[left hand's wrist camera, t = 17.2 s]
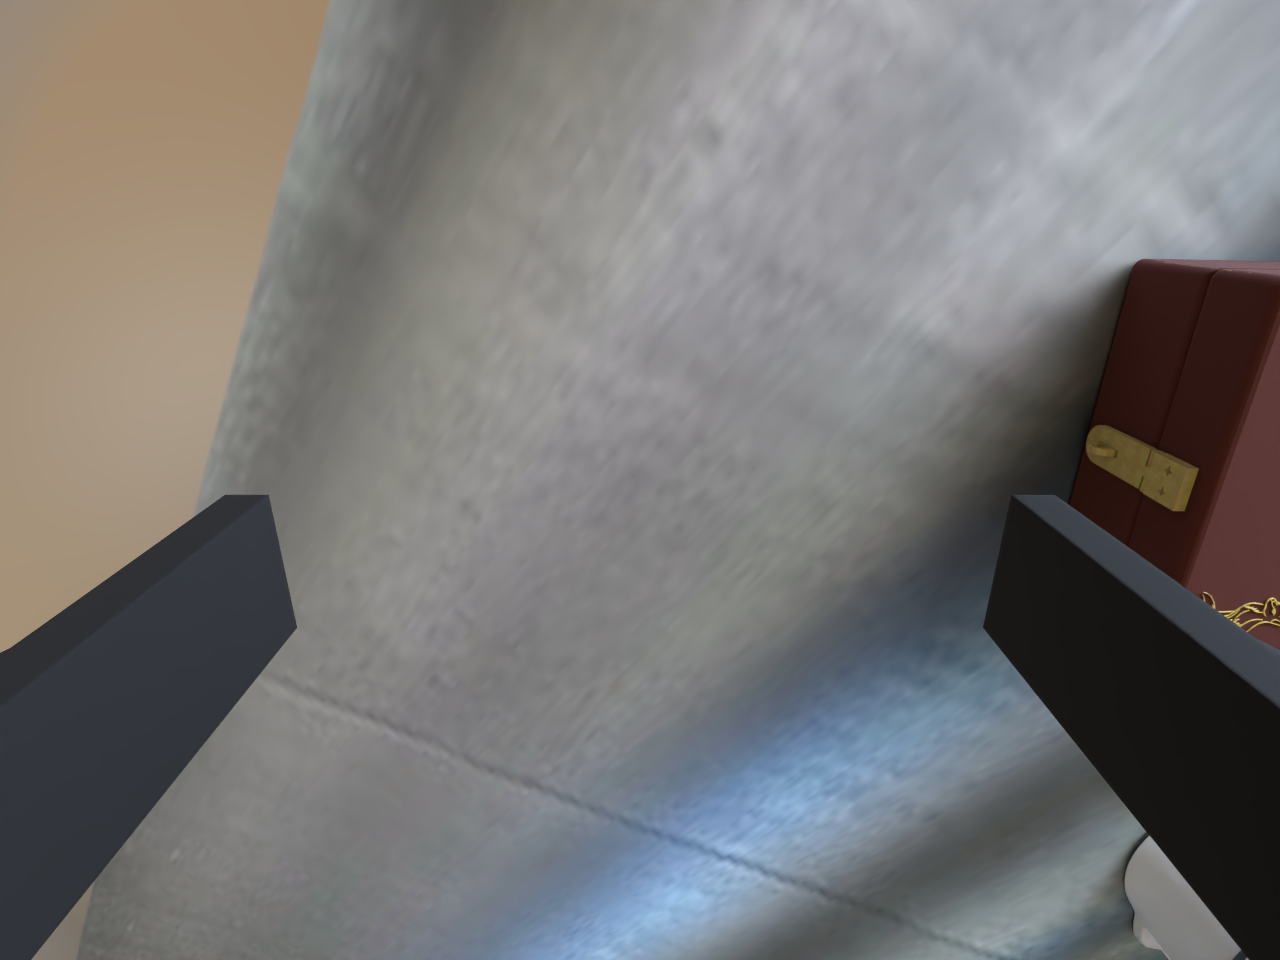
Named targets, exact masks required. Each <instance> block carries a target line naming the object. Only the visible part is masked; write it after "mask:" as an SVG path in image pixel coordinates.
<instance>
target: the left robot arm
mask: <svg viewBox="0 0 1280 960" xmlns="http://www.w3.org/2000/svg"><path fill="white" fill-rule="evenodd" d="M296 628H297V625H296V621H295V616H294V611H293V607H292V602H291V597H290V593H289V588H288V583H287V579H286V574H285V569H284V565H283V560H282V555H281V551H280V546H279V541H278V537H277V532H276V527H275V523H274V518H273V513H272V509H271V504H270V499H269V495H224V496H223V497H222V498H220V499H219V500H217V501H216V502H215V503H213V504H212V505H210V506H209V507H208V508H206V509H205V510H203V511H202V512H201V513H199V514H198V515H196V516H195V517H194V518H192V519H191V520H189V521H188V522H187V523H185V524H184V525H182V526H181V527H180V528H178V529H177V530H175V531H174V532H172V533H171V534H170V535H168V536H167V537H165V538H164V539H163V540H161V541H160V542H159V543H157V544H156V545H154V546H153V547H151V548H150V549H149V550H147V551H146V552H144V553H143V554H142V555H140V556H139V557H137V558H136V559H135V560H133V561H132V562H130V563H129V564H128V565H126V566H125V567H123V568H122V569H121V570H119V571H118V572H116V573H115V574H114V575H112V576H111V577H109V578H108V579H107V580H105V581H104V582H102V583H101V584H100V585H98V586H97V587H95V588H94V589H93V590H91V591H90V592H88V593H87V594H86V595H84V596H83V597H81V598H80V599H79V600H77V601H76V602H74V603H73V604H72V605H70V606H69V607H67V608H66V609H65V610H63V611H62V612H60V613H59V614H58V615H56V616H55V617H53V618H52V619H50V620H49V621H48V622H46V623H45V624H43V625H42V626H41V627H39V628H38V629H37V630H35V631H34V632H32V633H31V634H29V635H28V636H27V637H25V638H24V639H22V640H21V641H20V642H18V643H17V644H15V645H14V646H13V647H11V648H9V649H7V650H5V651H3V652H1V653H0V960H31V959H32V958H33V957H34V955H35V954H36V953H37V952H38V950H39V949H40V948H41V947H42V945H43V944H44V943H45V942H46V940H47V939H48V938H49V937H50V935H51V934H52V933H53V931H54V930H55V929H56V928H57V927H58V925H59V924H60V923H61V922H62V920H63V919H64V918H65V917H66V915H67V914H68V913H69V912H70V910H71V909H72V908H73V907H74V905H75V904H76V903H77V902H78V900H79V899H80V898H81V897H82V895H83V894H84V893H85V892H86V890H87V889H88V888H89V887H90V885H91V884H92V883H93V882H94V880H95V879H96V878H97V877H98V875H99V874H100V873H101V872H102V870H103V869H104V868H105V867H106V865H107V864H108V863H109V862H110V860H111V859H112V858H113V857H114V855H115V854H116V853H117V852H118V850H119V849H120V848H121V847H122V845H123V844H124V843H125V842H126V840H127V839H128V838H129V837H130V835H131V834H132V833H133V832H134V830H135V829H136V828H137V827H138V825H139V824H140V823H141V822H142V820H143V819H144V818H145V817H146V815H147V814H148V813H149V812H150V810H151V809H152V808H153V807H154V805H155V804H156V803H157V802H158V800H159V799H160V798H161V797H162V795H163V794H164V793H165V792H166V790H167V789H168V788H169V787H170V785H171V784H172V783H173V782H174V780H175V779H176V778H177V777H178V775H179V774H180V773H181V772H182V770H183V769H184V768H185V767H186V765H187V764H188V763H189V762H190V760H191V759H192V758H193V757H194V755H195V754H196V753H197V752H198V750H199V749H200V748H201V747H202V746H203V744H204V743H205V742H206V741H207V739H208V738H209V737H210V736H211V734H212V733H213V732H214V731H215V729H216V728H217V727H218V726H219V724H220V723H221V722H222V721H223V719H224V718H225V717H226V716H227V714H228V713H229V712H230V711H231V709H232V708H233V707H234V706H235V704H236V703H237V702H238V701H239V699H240V698H241V697H242V696H243V694H244V693H245V692H246V691H247V689H248V688H249V687H250V686H251V684H252V683H253V682H254V681H255V679H256V678H257V677H258V676H259V674H260V673H261V672H262V671H263V669H264V668H265V667H266V666H267V664H268V663H269V662H270V661H271V659H272V658H273V657H274V656H275V654H276V653H277V652H278V651H279V649H280V648H281V647H282V646H283V644H284V643H285V642H286V641H287V639H288V638H289V637H290V636H291V634H292V633H293V632H294V631H295V629H296ZM983 628H984V629H985V631H986V632H987V633H988V634H989V636H990V637H991V638H992V639H993V641H994V642H995V643H996V644H997V646H998V647H999V648H1000V649H1001V651H1002V652H1003V653H1004V654H1005V656H1006V657H1007V658H1008V659H1009V661H1010V662H1011V663H1012V664H1013V666H1014V667H1015V668H1016V669H1017V671H1018V672H1019V673H1020V674H1021V676H1022V677H1023V678H1024V679H1025V681H1026V682H1027V683H1028V684H1029V686H1030V687H1031V688H1032V689H1033V691H1034V692H1035V693H1036V694H1037V696H1038V697H1039V698H1040V699H1041V701H1042V702H1043V703H1044V704H1045V706H1046V707H1047V708H1048V709H1049V711H1050V712H1051V713H1052V714H1053V716H1054V717H1055V718H1056V719H1057V721H1058V722H1059V723H1060V724H1061V726H1062V727H1063V728H1064V729H1065V731H1066V732H1067V733H1068V734H1069V736H1070V737H1071V738H1072V739H1073V741H1074V742H1075V743H1076V744H1077V746H1078V747H1079V748H1080V749H1081V750H1082V752H1083V753H1084V754H1085V755H1086V757H1087V758H1088V759H1089V760H1090V762H1091V763H1092V764H1093V765H1094V767H1095V768H1096V769H1097V770H1098V772H1099V773H1100V774H1101V775H1102V777H1103V778H1104V779H1105V780H1106V782H1107V783H1108V784H1109V785H1110V787H1111V788H1112V789H1113V790H1114V792H1115V793H1116V794H1117V795H1118V797H1119V798H1120V799H1121V800H1122V802H1123V803H1124V804H1125V805H1126V807H1127V808H1128V809H1129V810H1130V812H1131V813H1132V814H1133V815H1134V817H1135V818H1136V819H1137V820H1138V822H1139V823H1140V824H1141V825H1142V827H1143V828H1144V829H1145V830H1146V832H1147V833H1148V834H1149V835H1150V837H1151V838H1152V839H1153V840H1154V842H1155V843H1156V844H1157V845H1158V847H1159V848H1160V849H1161V850H1162V852H1163V853H1164V854H1165V855H1166V857H1167V858H1168V859H1169V860H1170V862H1171V863H1172V864H1173V865H1174V867H1175V868H1176V869H1177V870H1178V872H1179V873H1180V874H1181V875H1182V877H1183V878H1184V879H1185V880H1186V882H1187V883H1188V884H1189V885H1190V887H1191V888H1192V889H1193V890H1194V892H1195V893H1196V894H1197V895H1198V897H1199V898H1200V899H1201V900H1202V902H1203V903H1204V904H1205V905H1206V907H1207V908H1208V909H1209V910H1210V912H1211V913H1212V914H1213V915H1214V917H1215V918H1216V919H1217V920H1218V922H1219V923H1220V924H1221V925H1222V927H1223V928H1224V929H1225V930H1226V932H1227V933H1228V934H1229V935H1230V937H1231V938H1232V939H1233V940H1234V942H1235V943H1236V944H1237V945H1238V947H1239V948H1240V949H1241V950H1242V952H1243V953H1244V954H1245V955H1246V957H1247V958H1248V959H1249V960H1280V650H1279V649H1277V648H1275V647H1273V646H1271V645H1269V644H1267V643H1264V642H1262V641H1260V640H1258V639H1256V638H1255V637H1253V636H1252V635H1251V634H1249V633H1248V632H1246V631H1245V630H1244V629H1242V628H1241V627H1239V626H1238V625H1237V624H1235V623H1234V622H1232V621H1231V620H1230V619H1228V618H1227V617H1225V616H1224V615H1223V614H1221V613H1220V612H1218V611H1217V610H1216V609H1214V608H1213V607H1211V606H1210V605H1208V604H1207V603H1206V602H1204V601H1203V600H1201V599H1200V598H1199V597H1197V596H1196V595H1194V594H1193V593H1192V592H1190V591H1189V590H1187V589H1186V588H1185V587H1183V586H1182V585H1180V584H1179V583H1178V582H1176V581H1175V580H1173V579H1172V578H1171V577H1169V576H1168V575H1166V574H1165V573H1164V572H1162V571H1161V570H1159V569H1158V568H1157V567H1155V566H1154V565H1152V564H1151V563H1150V562H1148V561H1147V560H1145V559H1144V558H1143V557H1141V556H1140V555H1138V554H1137V553H1136V552H1134V551H1133V550H1131V549H1130V548H1129V547H1127V546H1126V545H1124V544H1123V543H1122V542H1120V541H1119V540H1117V539H1116V538H1115V537H1113V536H1112V535H1110V534H1109V533H1108V532H1106V531H1105V530H1103V529H1102V528H1100V527H1099V526H1098V525H1096V524H1095V523H1093V522H1092V521H1091V520H1089V519H1088V518H1086V517H1085V516H1084V515H1082V514H1081V513H1079V512H1078V511H1077V510H1075V509H1074V508H1072V507H1071V506H1070V505H1068V504H1067V503H1065V502H1064V501H1063V500H1061V499H1060V498H1058V497H1057V496H1056V495H1011V499H1010V504H1009V509H1008V513H1007V518H1006V523H1005V527H1004V532H1003V537H1002V541H1001V546H1000V551H999V555H998V560H997V565H996V569H995V574H994V579H993V583H992V588H991V593H990V597H989V602H988V607H987V611H986V616H985V621H984V625H983Z"/></svg>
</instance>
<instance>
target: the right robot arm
mask: <svg viewBox="0 0 1280 960" xmlns="http://www.w3.org/2000/svg"><path fill="white" fill-rule="evenodd" d="M1124 883H1125V891H1126V895H1127V897H1128V899H1129V901H1130V903H1131V905H1132V907H1133V909H1134V912H1135V916H1134V922H1133V933H1134V935H1135V936H1136V937H1137V938H1138V940H1139V941H1140V942H1141V943H1142V944H1143V945H1144V946H1145V947H1148V948H1152V949H1159V950H1162V951H1163V953H1164V954H1165V955H1166V957H1167V958H1168V959H1169V960H1249V959H1248V958H1247V957H1246V955H1245V954H1244V953H1243V952H1242V950H1241V949H1240V948H1239V947H1238V945H1237V944H1236V943H1235V942H1234V940H1233V939H1232V938H1231V937H1230V935H1229V934H1228V933H1227V932H1226V930H1225V929H1224V928H1223V927H1222V925H1221V924H1220V923H1219V922H1218V920H1217V919H1216V918H1215V917H1214V915H1213V914H1212V913H1211V912H1210V910H1209V909H1208V908H1207V907H1206V905H1205V904H1204V903H1203V902H1202V900H1201V899H1200V898H1199V897H1198V895H1197V894H1196V893H1195V892H1194V890H1193V889H1192V888H1191V887H1190V885H1189V884H1188V883H1187V882H1186V880H1185V879H1184V878H1183V877H1182V875H1181V874H1180V873H1179V872H1178V870H1177V869H1176V868H1175V867H1174V865H1173V864H1172V863H1171V862H1170V860H1169V859H1168V858H1167V857H1166V855H1165V854H1164V853H1163V852H1162V850H1161V849H1160V848H1159V847H1158V845H1157V844H1156V843H1155V842H1154V840H1153V839H1152V838H1151V837H1150V835H1149V836H1148V837H1147V838H1146V839H1145V840H1144V841H1143V843H1142V844H1141V845H1140V846H1139V847H1138V849H1137V850H1136V851H1135V853H1134V854H1133V856H1132V858H1131V860H1130V862H1129V864H1128V866H1127V870H1126V873H1125V881H1124Z"/></svg>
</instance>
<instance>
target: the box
mask: <svg viewBox="0 0 1280 960" xmlns="http://www.w3.org/2000/svg"><path fill="white" fill-rule="evenodd" d="M1069 505H1070V506H1071V507H1072V508H1074V509H1075V510H1077V511H1078V512H1079V513H1081V514H1082V515H1084V516H1085V517H1086V518H1088V519H1089V520H1091V521H1092V522H1093V523H1095V524H1096V525H1098V526H1099V527H1100V528H1102V529H1103V530H1105V531H1106V532H1108V533H1109V534H1110V535H1112V536H1113V537H1115V538H1116V539H1117V540H1119V541H1120V542H1122V543H1123V544H1124V545H1126V546H1127V547H1129V548H1130V549H1131V550H1133V551H1134V552H1136V553H1137V554H1138V555H1140V556H1141V557H1143V558H1144V559H1145V560H1147V561H1148V562H1150V563H1151V564H1152V565H1154V566H1155V567H1157V568H1158V569H1159V570H1161V571H1162V572H1164V573H1165V574H1166V575H1168V576H1169V577H1171V578H1172V579H1173V580H1175V581H1176V582H1178V583H1179V584H1180V585H1182V586H1183V587H1185V588H1186V589H1187V590H1189V591H1190V592H1192V593H1193V594H1194V595H1196V596H1197V597H1199V598H1200V599H1201V600H1203V601H1204V602H1206V603H1207V604H1208V605H1210V606H1211V607H1213V608H1214V609H1216V610H1217V611H1218V612H1220V613H1221V614H1223V615H1224V616H1225V617H1227V618H1228V619H1230V620H1231V621H1232V622H1234V623H1235V624H1237V625H1238V626H1239V627H1241V628H1242V629H1244V630H1245V631H1246V632H1248V633H1249V634H1251V635H1252V636H1253V637H1255V638H1256V639H1258V640H1260V641H1262V642H1264V643H1267V644H1269V645H1271V646H1273V647H1275V648H1277V649H1279V650H1280V262H1275V261H1225V260H1174V259H1142V260H1140V261H1138V262H1137V263H1136V264H1135V265H1134V267H1133V270H1132V274H1131V278H1130V281H1129V285H1128V289H1127V293H1126V296H1125V300H1124V304H1123V307H1122V311H1121V315H1120V319H1119V322H1118V326H1117V330H1116V333H1115V337H1114V341H1113V345H1112V348H1111V352H1110V356H1109V359H1108V363H1107V367H1106V371H1105V374H1104V378H1103V382H1102V385H1101V389H1100V393H1099V396H1098V400H1097V404H1096V408H1095V411H1094V415H1093V419H1092V422H1091V426H1090V430H1089V434H1088V437H1087V441H1086V445H1085V448H1084V452H1083V456H1082V460H1081V463H1080V467H1079V471H1078V474H1077V478H1076V482H1075V486H1074V489H1073V493H1072V497H1071V500H1070V504H1069Z"/></svg>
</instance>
